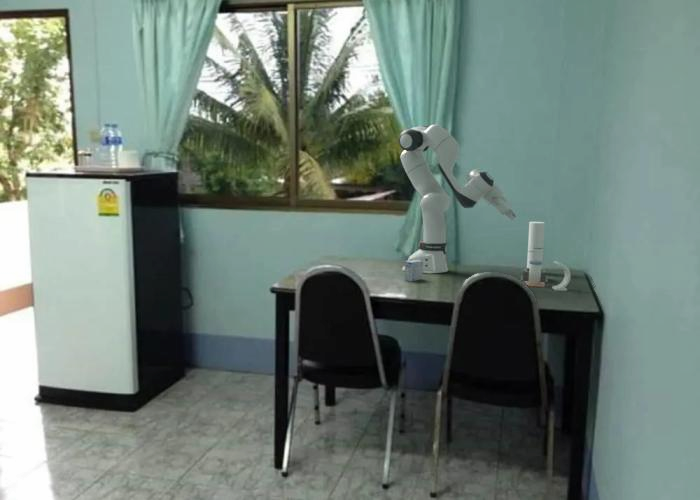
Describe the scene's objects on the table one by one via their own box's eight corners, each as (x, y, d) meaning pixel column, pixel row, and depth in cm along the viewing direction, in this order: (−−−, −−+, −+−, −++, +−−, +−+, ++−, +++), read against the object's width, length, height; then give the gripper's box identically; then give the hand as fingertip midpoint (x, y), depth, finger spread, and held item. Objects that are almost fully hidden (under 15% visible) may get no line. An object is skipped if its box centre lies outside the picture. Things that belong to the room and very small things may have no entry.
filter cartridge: (528, 284, 273) (529, 261, 271) (528, 281, 278) (529, 260, 276) (540, 285, 271) (541, 262, 270) (540, 282, 276) (541, 260, 275)
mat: (523, 285, 272) (523, 284, 272) (523, 282, 280) (523, 280, 280) (544, 287, 269) (544, 286, 269) (544, 283, 278) (544, 282, 278)
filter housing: (520, 281, 282) (520, 271, 281) (520, 276, 294) (521, 267, 293) (547, 283, 279) (548, 273, 278) (547, 278, 290) (547, 268, 289)
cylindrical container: (542, 274, 300) (545, 223, 296) (527, 273, 301) (530, 222, 298) (540, 271, 307) (543, 221, 303) (526, 271, 308) (528, 221, 305)
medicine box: (415, 278, 286) (415, 259, 285) (422, 279, 283) (423, 260, 282) (404, 280, 281) (404, 261, 280) (411, 281, 278) (412, 262, 276)
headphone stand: (551, 288, 267) (553, 260, 266) (565, 288, 267) (567, 261, 266) (555, 290, 263) (557, 262, 261) (569, 290, 263) (571, 262, 261)
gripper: (497, 193, 281) (518, 215, 280) (500, 190, 300) (520, 211, 299) (486, 202, 283) (507, 224, 282) (491, 199, 302) (510, 220, 301)
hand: (514, 218), depth 290 cm, fingers open, 8 cm apart
